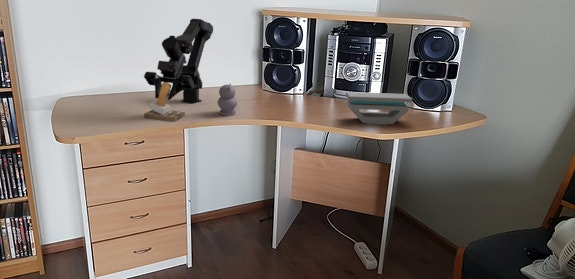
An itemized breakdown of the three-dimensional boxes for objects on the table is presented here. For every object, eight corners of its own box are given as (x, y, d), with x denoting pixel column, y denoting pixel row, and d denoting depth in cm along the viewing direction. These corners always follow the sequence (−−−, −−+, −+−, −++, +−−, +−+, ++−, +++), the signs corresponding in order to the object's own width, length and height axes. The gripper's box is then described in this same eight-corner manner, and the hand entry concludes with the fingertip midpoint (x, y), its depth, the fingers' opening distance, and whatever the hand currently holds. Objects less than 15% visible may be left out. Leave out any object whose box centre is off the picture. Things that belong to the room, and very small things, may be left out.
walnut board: (154, 112, 174) (154, 108, 173) (184, 115, 171) (184, 112, 171) (144, 117, 166) (143, 113, 166) (175, 121, 164) (175, 117, 163)
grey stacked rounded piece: (218, 110, 180) (218, 82, 176) (237, 111, 181) (237, 82, 177) (216, 116, 172) (216, 86, 168) (236, 117, 173) (237, 87, 169)
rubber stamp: (155, 104, 171) (163, 79, 166) (168, 111, 170) (177, 86, 166) (148, 107, 166) (156, 82, 162) (162, 114, 166) (170, 89, 161)
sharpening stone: (346, 123, 173) (349, 96, 169) (343, 117, 180) (345, 91, 177) (408, 125, 175) (412, 98, 171) (402, 119, 182) (406, 94, 178)
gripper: (145, 50, 166) (130, 83, 159) (191, 54, 162) (178, 89, 155) (156, 68, 176) (142, 100, 169) (199, 72, 172) (187, 105, 165)
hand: (162, 98), depth 164 cm, fingers closed on rubber stamp, 5 cm apart
